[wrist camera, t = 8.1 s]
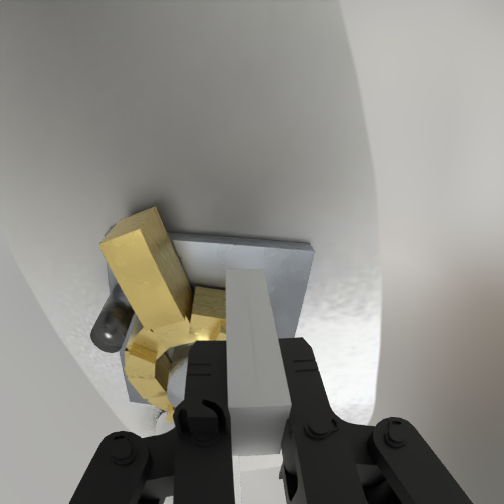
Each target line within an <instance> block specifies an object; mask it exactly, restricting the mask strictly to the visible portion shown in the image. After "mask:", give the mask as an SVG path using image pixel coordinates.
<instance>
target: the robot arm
mask: <svg viewBox="0 0 504 504" xmlns="http://www.w3.org/2000/svg"><path fill="white" fill-rule="evenodd" d="M186 374H187V376H186V383H185V394H184V400H183V401H182V402H181V403H180V404H179V405H178V406H177V407H176V408H175V411H174V413H173V420H174V424H175V427H174V428H173V429H172V430H170V431H168V432H166V433H163V434H160V435H156V436H151V437H146V438H141V437H140V436H138V435H136V434H134V433H133V432H126V431H120V432H114V433H112V434H110V435H108V436H106V437H105V438H104V440H103V441H102V442H101V443H100V445H99V446H98V448H97V450H96V452H95V454H94V456H93V458H92V459H91V461H90V463H89V465H88V467H87V469H86V471H85V473H84V475H83V477H82V479H81V480H80V482H79V484H78V486H77V488H76V490H75V492H74V494H73V496H72V498H71V500H70V502H69V504H164V501H165V498H166V497H170V496H173V504H235V495H234V478H233V460H232V456H250V455H268V454H280V451H281V449H282V455H283V463H282V466H281V470H280V474H279V479H283V482H284V489H285V495H286V502H287V504H473V503H472V502H471V500H470V499H469V498H468V496H467V495H466V494H465V492H464V491H463V490H462V488H461V487H460V486H459V484H458V483H457V482H456V480H455V479H454V478H453V477H452V475H451V474H450V473H449V471H448V470H447V469H446V467H445V466H444V465H443V464H442V462H441V461H440V459H439V458H438V457H437V456H436V454H435V453H434V452H433V450H432V449H431V448H430V446H429V445H428V444H427V443H426V441H425V440H424V439H423V438H422V436H421V435H420V434H419V433H418V431H417V430H416V429H415V427H414V426H413V425H412V424H410V422H408V421H407V420H404V419H402V418H397V417H390V418H386V419H383V420H382V421H380V422H379V423H378V424H377V425H376V426H366V425H357V424H352V423H348V422H346V421H344V420H342V419H340V418H339V417H338V416H337V415H335V413H334V412H333V411H332V409H331V407H330V405H329V401H328V398H327V395H326V392H325V388H324V385H323V382H322V379H321V375H320V372H319V371H318V366H317V363H316V361H315V356H314V353H313V350H312V347H311V346H310V345H309V344H308V343H307V342H306V341H305V340H304V339H303V337H299V338H278V336H277V332H276V327H275V322H274V317H273V313H272V308H271V303H270V298H269V294H268V289H267V284H266V279H265V275H264V270H263V269H226V340H196V341H195V343H194V344H193V346H192V347H191V349H190V350H189V354H188V366H187V373H186Z"/></svg>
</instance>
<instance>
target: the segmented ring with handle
mask: <svg viewBox="0 0 504 504" xmlns="http://www.w3.org/2000/svg"><path fill="white" fill-rule="evenodd" d="M99 246H100V248H101V250H102V252H103V254H104V256H105V258H106V260H107V262H108V264H109V266H110V268H111V270H112V271H113V273H114V275H115V277H116V279H117V281H118V283H119V285H120V286H121V288H122V290H123V292H124V294H125V295H126V297H127V299H128V301H129V302H130V304H131V306H132V308H133V309H134V311H135V313H136V315H137V316H138V317H137V319H136V321H135V324H134V327H133V329H132V332H131V335H130V338H129V341H128V343H127V346H126V349H125V368H124V370H125V371H126V375H128V380H129V381H130V382H131V384H132V385H133V386H134V387H135V389H136V390H137V391H138V392H139V394H140V395H141V396H142V397H143V398H144V399H148V402H149V403H151V404H153V405H155V406H157V407H159V408H161V409H163V410H165V411H167V415H166V421H168V422H171V423H174V420H173V413H174V411H175V407H174V406H173V405H172V404H171V403H170V402H169V400H168V398H167V389H168V383H169V377H170V370H171V364H172V363H171V362H170V361H169V359H168V358H167V356H166V355H165V353H164V352H165V351H166V350H167V349H168V348H170V347H174V346H178V345H182V344H187V343H191V342H195V341H196V340H226V291H224V290H218V289H211V288H205V287H200V286H196V288H195V294H194V293H193V291H192V289H191V285H190V283H189V281H188V279H187V277H186V274H185V272H184V270H183V268H182V266H181V263H180V261H179V259H178V257H177V255H176V252H175V250H174V248H173V245H172V243H171V241H170V239H169V236H168V234H167V232H166V229H165V227H164V225H163V222H162V220H161V218H160V215H159V213H158V210H157V208H156V206H155V207H153V208H150V209H147V210H145V211H142V212H139V213H137V214H134V215H132V216H129V217H127V218H124V219H122V220H120V221H119V222H118V223H117V224H116V225H115V227H114V228H113V229H112V230H111V231H110V232H109V233H108V235H107V236H106V237H105V238H104V239H103V240H102V242H101V243H100V244H99Z"/></svg>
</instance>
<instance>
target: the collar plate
mask: <svg viewBox="0 0 504 504" xmlns="http://www.w3.org/2000/svg"><path fill="white" fill-rule="evenodd" d="M112 229H113V228H111V229H110V230H109V231H108V232H107V233H106V234H105V237H106V236H107V235H108V233H109V232H110V231H111V230H112ZM167 234H168V236H169V239H170V241H171V243H172V245H173V248H174V250H175V252H176V255H177V257H178V259H179V261H180V263H181V266H182V268H183V270H184V272H185V274H186V277H187V279H188V281H189V283H190V285H191V289H192V291H193V293H194V294H195V288H196V286H200V287H205V288H211V289H218V290H224V291H226V269H263V270H264V275H265V279H266V284H267V289H268V294H269V298H270V303H271V308H272V313H273V317H274V322H275V327H276V332H277V336H278V338H294V336H295V332H296V329H297V325H298V321H299V316H300V312H301V308H302V304H303V300H304V296H305V291H306V287H307V283H308V278H309V274H310V270H311V265H312V261H313V256H314V250H313V248H312V246H311V244H309V243H298V242H287V241H275V240H263V239H251V238H239V237H226V236H214V235H201V234H188V233H174V232H167ZM107 266H108V276H109V285H110V293H111V294H110V296H109V298H108V299H107V301H106V303H105V305H104V307H103V309H102V311H101V313H100V315H99V316H98V318H97V320H96V322H95V324H94V326H93V328H92V330H91V333H90V337H91V340H92V342H93V343H94V345H95V346H96V347H98V348H99V349H100V350H102V351H105V352H109V353H115V352H118V351H120V356H121V361H122V366H123V371H124V376H125V380H126V385H127V389H128V394H129V398H130V402H137V403H144V404H151V403H149V402H148V399H144V398H143V397H142V396H141V395H140V394H139V392H138V391H137V390H136V389H135V387H134V386H133V385H132V384H131V382H130V381H129V380H128V375H126V371H125V370H124V368H125V349H126V346H127V343H128V341H129V338H130V335H131V332H132V329H133V327H134V324H135V321H136V319H137V317H138V316H137V315H136V313H135V311H134V309H133V308H132V306H131V304H130V302H129V301H128V299H127V297H126V295H125V294H124V292H123V290H122V288H121V286H120V285H119V283H118V281H117V279H116V277H115V275H114V273H113V271H112V270H111V268H110V266H109V264H108V262H107ZM194 343H195V342H191V343H187V344H182V345H178V346H174V347H170V348H168V349H167V350H166V351H165V352H164V353H165V355H166V356H167V358H168V359H169V361H170V362H171V363H172V364H171V370H170V377H169V383H168V389H167V398H168V400H169V402H170V403H171V404H172V405H173V406H174V407H175V408H176V407H177V406H178V405H179V404H180V403H181V402H182V401H183V400H184V394H185V383H186V376H187V374H186V373H187V366H188V354H189V350H190V349H191V347H192V346H193V344H194ZM151 405H153V404H151Z"/></svg>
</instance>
